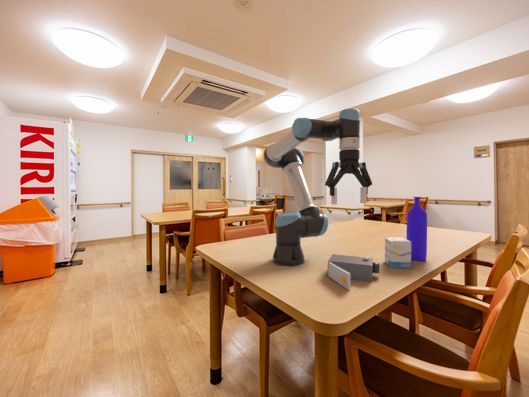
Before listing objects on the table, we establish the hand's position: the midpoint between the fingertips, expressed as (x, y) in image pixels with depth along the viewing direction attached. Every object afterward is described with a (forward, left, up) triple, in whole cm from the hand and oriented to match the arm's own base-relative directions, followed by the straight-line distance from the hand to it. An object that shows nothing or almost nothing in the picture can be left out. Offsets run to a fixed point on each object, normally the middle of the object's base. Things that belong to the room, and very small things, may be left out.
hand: (349, 203), depth 94 cm
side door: (-3, -11, -28) cm, 31 cm away
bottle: (+28, +33, -29) cm, 52 cm away
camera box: (+2, 0, -29) cm, 29 cm away
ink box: (+19, +20, -29) cm, 40 cm away
